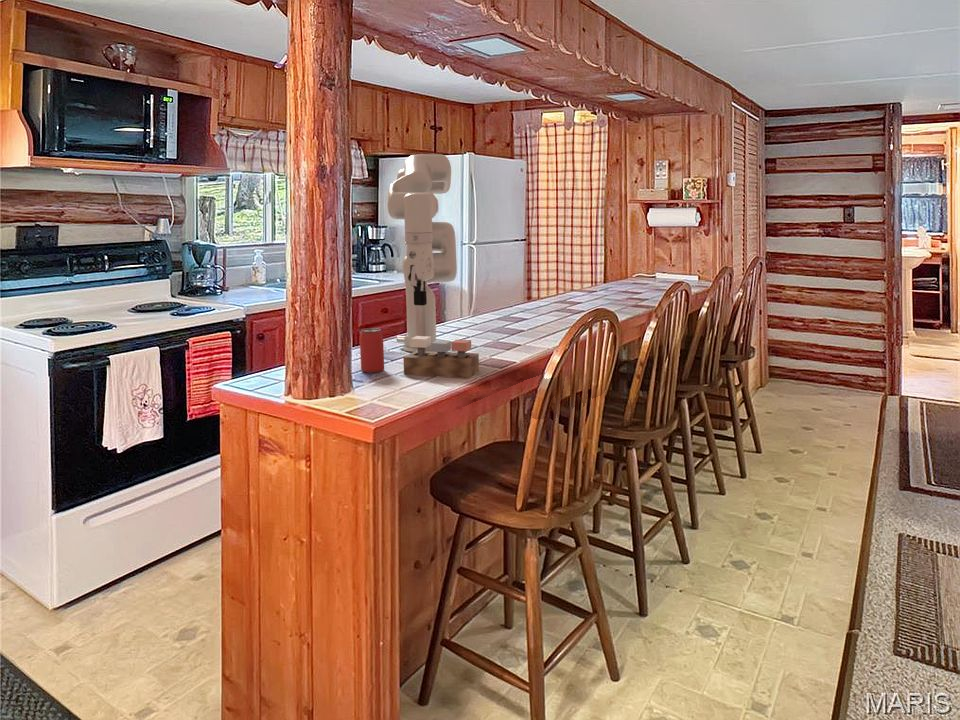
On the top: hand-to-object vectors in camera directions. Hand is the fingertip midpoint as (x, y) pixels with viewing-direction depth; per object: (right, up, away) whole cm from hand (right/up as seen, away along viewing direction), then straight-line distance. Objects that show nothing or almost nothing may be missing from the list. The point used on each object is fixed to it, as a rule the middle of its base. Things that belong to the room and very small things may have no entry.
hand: (420, 304), depth 202 cm
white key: (0, -16, +3) cm, 17 cm away
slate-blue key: (+6, -18, +1) cm, 19 cm away
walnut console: (+6, -19, +2) cm, 20 cm away
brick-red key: (+12, -18, 0) cm, 21 cm away
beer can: (-14, -19, +5) cm, 24 cm away
